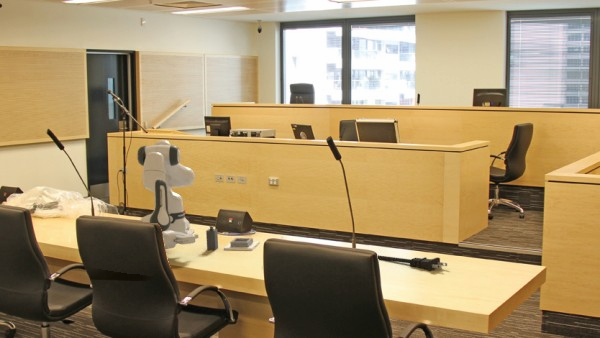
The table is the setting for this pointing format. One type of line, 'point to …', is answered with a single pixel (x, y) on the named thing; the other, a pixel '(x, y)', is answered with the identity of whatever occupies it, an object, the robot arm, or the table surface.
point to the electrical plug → (418, 262)
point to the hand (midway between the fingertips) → (192, 234)
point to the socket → (241, 244)
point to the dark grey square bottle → (212, 239)
